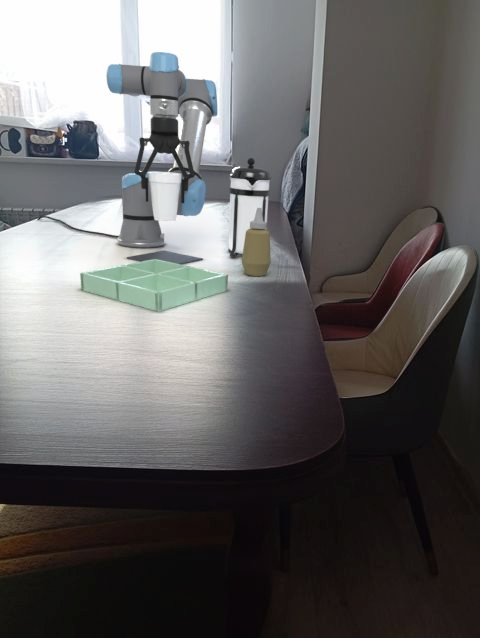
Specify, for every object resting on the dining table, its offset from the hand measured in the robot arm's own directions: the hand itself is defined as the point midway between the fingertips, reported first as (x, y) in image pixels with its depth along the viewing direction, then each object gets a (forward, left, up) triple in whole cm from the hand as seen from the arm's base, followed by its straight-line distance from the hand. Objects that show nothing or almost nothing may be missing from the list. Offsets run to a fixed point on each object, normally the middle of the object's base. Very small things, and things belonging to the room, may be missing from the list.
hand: (165, 201), depth 149 cm
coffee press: (+12, +25, -17) cm, 32 cm away
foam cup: (0, 0, -5) cm, 5 cm away
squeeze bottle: (+30, +4, -17) cm, 35 cm away
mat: (0, 0, -17) cm, 17 cm away
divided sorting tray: (+23, -28, -17) cm, 40 cm away
